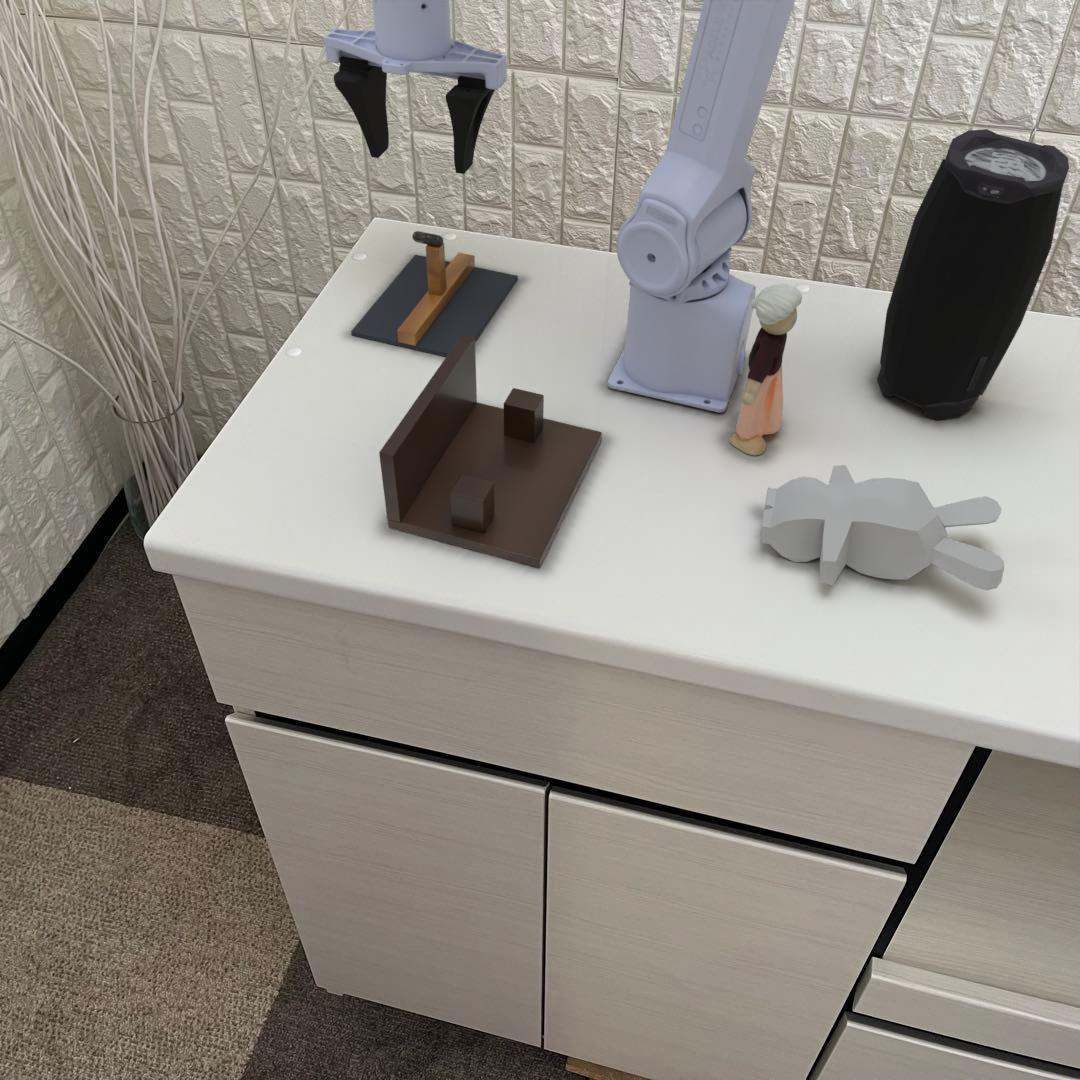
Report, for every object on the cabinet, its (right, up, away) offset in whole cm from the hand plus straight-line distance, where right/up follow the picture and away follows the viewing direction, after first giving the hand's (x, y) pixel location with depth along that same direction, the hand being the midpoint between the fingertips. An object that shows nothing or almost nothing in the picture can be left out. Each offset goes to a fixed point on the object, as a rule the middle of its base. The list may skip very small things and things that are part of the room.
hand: (421, 160), depth 88 cm
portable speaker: (+41, -20, -3) cm, 45 cm away
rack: (+7, -27, -12) cm, 31 cm away
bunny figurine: (+32, -33, -16) cm, 49 cm away
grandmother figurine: (+26, -23, -7) cm, 36 cm away
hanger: (+1, -11, +3) cm, 12 cm away
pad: (+1, -11, +3) cm, 12 cm away
